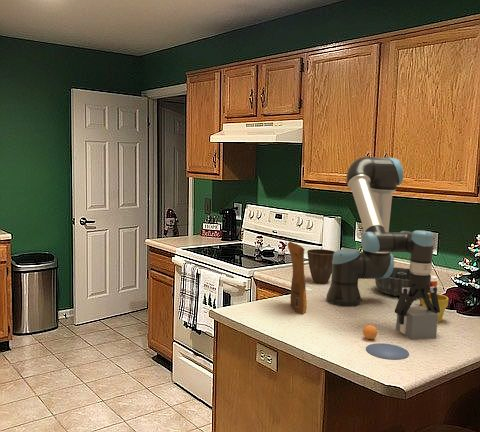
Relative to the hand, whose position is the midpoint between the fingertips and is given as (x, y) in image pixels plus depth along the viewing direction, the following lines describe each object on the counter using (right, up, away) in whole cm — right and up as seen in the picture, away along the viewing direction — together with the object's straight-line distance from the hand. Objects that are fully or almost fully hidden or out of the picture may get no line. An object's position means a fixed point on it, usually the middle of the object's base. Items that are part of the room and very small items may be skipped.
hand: (415, 331), depth 193 cm
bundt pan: (+12, +5, +59) cm, 60 cm away
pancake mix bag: (-41, +3, +27) cm, 50 cm away
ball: (-19, +1, -7) cm, 20 cm away
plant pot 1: (-24, +9, +75) cm, 79 cm away
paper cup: (+17, +3, +35) cm, 39 cm away
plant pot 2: (+13, +1, +18) cm, 22 cm away
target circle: (-16, -3, -18) cm, 24 cm away
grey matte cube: (0, -1, 0) cm, 1 cm away
